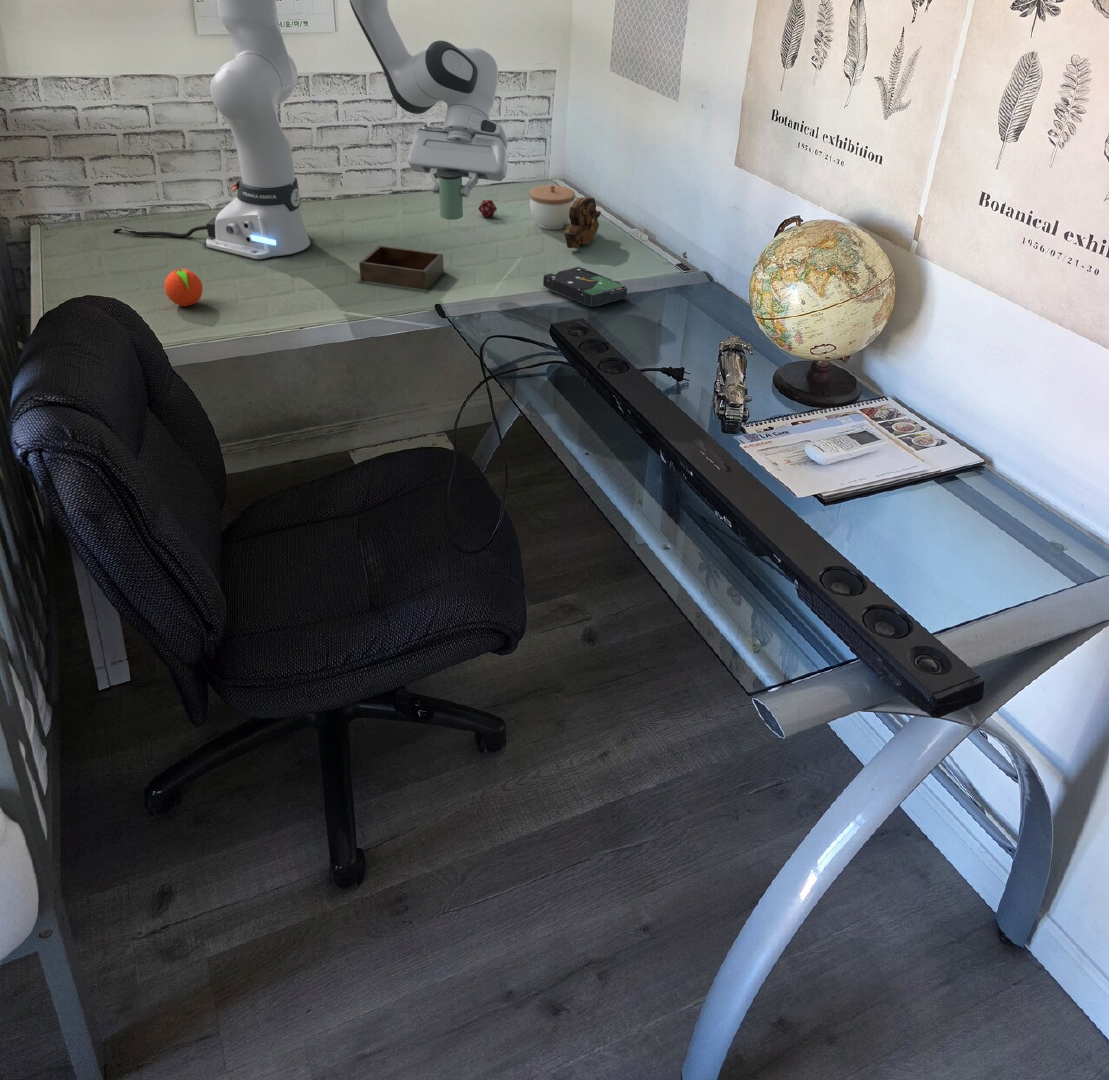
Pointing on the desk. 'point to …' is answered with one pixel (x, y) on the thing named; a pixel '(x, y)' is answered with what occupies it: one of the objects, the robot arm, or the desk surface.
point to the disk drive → (585, 286)
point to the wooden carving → (582, 222)
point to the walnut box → (401, 267)
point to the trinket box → (551, 205)
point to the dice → (487, 208)
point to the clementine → (183, 287)
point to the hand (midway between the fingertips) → (450, 194)
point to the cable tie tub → (450, 194)
